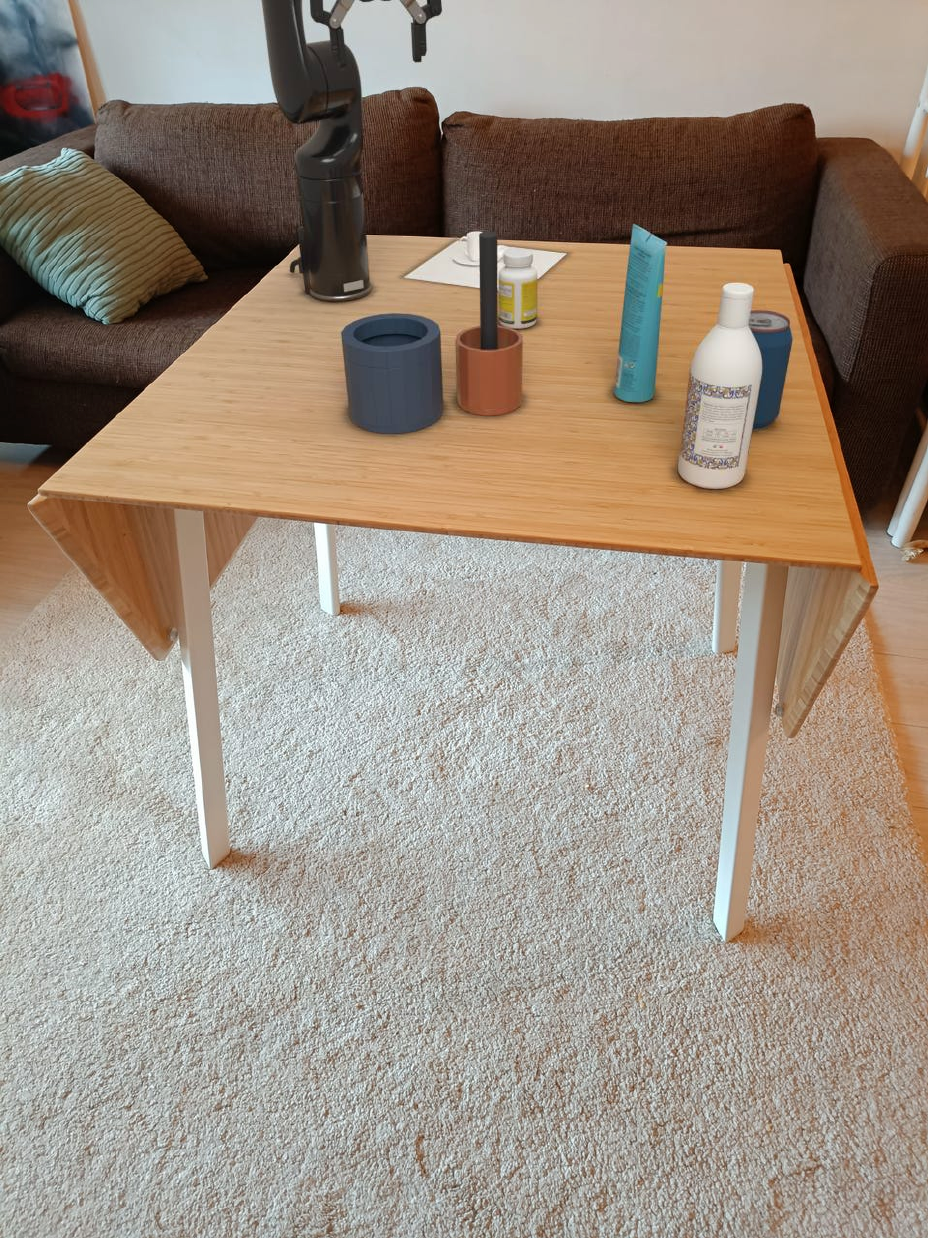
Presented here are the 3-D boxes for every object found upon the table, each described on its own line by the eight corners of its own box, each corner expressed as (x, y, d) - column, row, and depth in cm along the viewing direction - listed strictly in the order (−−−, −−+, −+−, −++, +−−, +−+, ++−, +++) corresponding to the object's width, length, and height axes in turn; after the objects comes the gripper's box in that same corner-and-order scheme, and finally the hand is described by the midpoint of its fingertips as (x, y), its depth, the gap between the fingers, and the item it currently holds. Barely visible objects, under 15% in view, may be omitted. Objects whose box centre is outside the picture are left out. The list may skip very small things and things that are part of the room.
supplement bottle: (537, 315, 141) (539, 245, 135) (535, 330, 137) (537, 258, 131) (499, 315, 142) (499, 245, 136) (497, 329, 138) (497, 258, 132)
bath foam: (697, 452, 109) (723, 269, 96) (755, 471, 105) (789, 284, 93) (664, 477, 104) (686, 289, 92) (723, 498, 101) (754, 305, 89)
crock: (446, 408, 119) (443, 344, 114) (475, 382, 124) (474, 321, 119) (504, 420, 116) (504, 355, 111) (532, 394, 121) (533, 331, 116)
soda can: (775, 409, 116) (794, 309, 109) (778, 436, 111) (797, 333, 104) (715, 405, 118) (730, 306, 110) (715, 431, 112) (730, 329, 105)
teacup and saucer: (513, 255, 162) (513, 230, 160) (494, 270, 157) (494, 244, 154) (465, 249, 165) (464, 224, 163) (444, 264, 160) (443, 238, 157)
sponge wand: (461, 399, 119) (457, 237, 107) (480, 383, 122) (478, 224, 110) (498, 407, 117) (498, 243, 105) (517, 391, 120) (518, 230, 108)
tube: (667, 402, 119) (686, 238, 107) (634, 410, 117) (649, 245, 105) (633, 379, 124) (647, 220, 112) (600, 387, 122) (611, 227, 110)
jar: (331, 422, 116) (321, 340, 110) (381, 385, 124) (374, 307, 118) (413, 441, 112) (407, 357, 106) (459, 402, 120) (457, 322, 114)
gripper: (429, -119, 105) (435, 54, 115) (295, -114, 103) (313, 62, 113) (442, -117, 100) (448, 65, 110) (301, -112, 97) (319, 73, 107)
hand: (379, 63), depth 111 cm, fingers open, 8 cm apart
